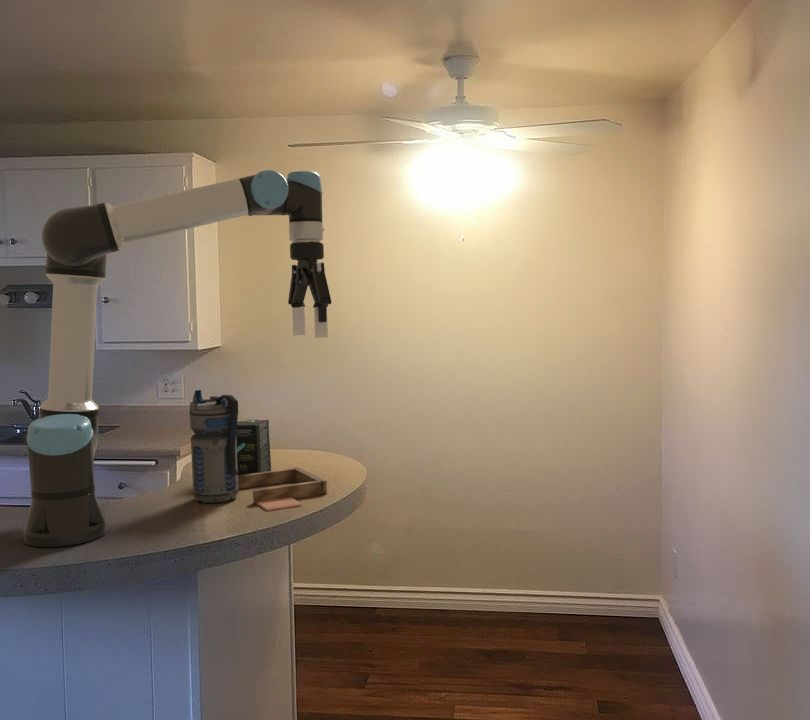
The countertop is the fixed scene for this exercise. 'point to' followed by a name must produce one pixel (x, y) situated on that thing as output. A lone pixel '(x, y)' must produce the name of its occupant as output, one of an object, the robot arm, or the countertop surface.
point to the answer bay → (303, 488)
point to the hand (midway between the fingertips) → (310, 336)
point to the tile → (279, 503)
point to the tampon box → (253, 446)
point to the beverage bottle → (214, 448)
